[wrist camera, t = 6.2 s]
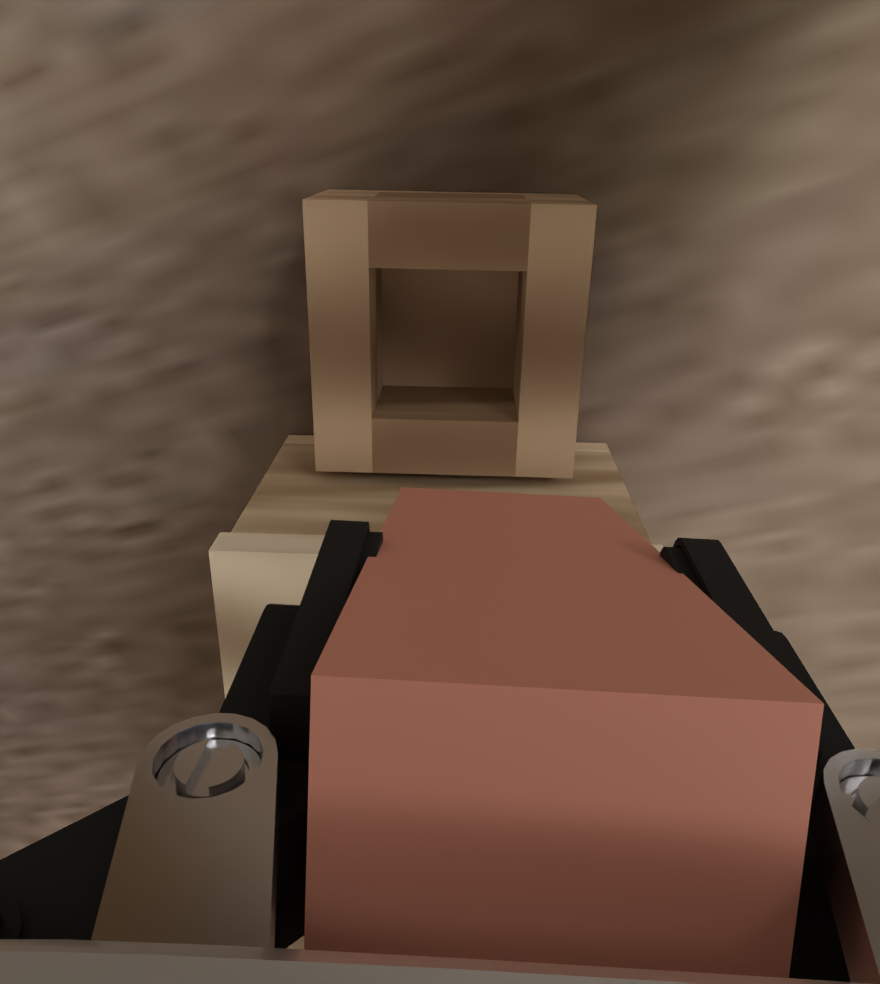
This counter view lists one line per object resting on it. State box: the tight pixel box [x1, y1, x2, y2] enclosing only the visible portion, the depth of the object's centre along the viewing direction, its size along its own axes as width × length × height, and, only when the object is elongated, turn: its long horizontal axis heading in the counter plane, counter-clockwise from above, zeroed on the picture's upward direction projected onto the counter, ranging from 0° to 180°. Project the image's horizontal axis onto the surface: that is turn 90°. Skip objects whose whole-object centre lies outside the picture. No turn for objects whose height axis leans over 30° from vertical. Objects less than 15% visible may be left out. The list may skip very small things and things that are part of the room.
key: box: [304, 487, 824, 978], centre depth 12 cm, size 4×4×10 cm
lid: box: [209, 532, 663, 950], centre depth 26 cm, size 20×13×5 cm, turn 179°
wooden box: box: [231, 189, 652, 545], centre depth 31 cm, size 30×13×9 cm, turn 179°
